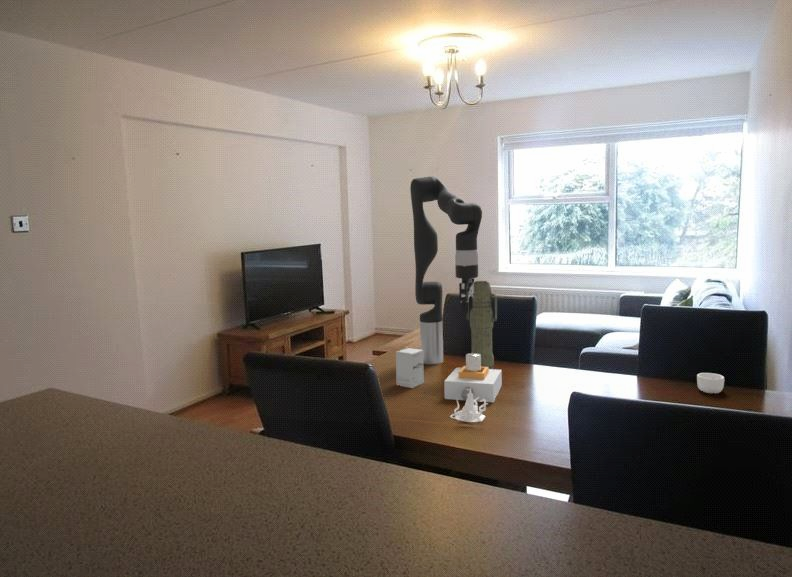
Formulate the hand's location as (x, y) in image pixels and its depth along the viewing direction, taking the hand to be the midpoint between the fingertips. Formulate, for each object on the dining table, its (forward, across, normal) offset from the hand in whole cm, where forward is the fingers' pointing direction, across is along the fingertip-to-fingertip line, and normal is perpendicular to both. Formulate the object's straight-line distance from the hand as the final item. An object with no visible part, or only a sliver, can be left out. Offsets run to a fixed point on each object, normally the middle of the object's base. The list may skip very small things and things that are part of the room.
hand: (467, 311), depth 186 cm
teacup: (+28, -15, +77) cm, 83 cm away
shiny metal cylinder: (+24, +2, +2) cm, 25 cm away
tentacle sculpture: (+27, +27, +6) cm, 39 cm away
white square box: (+28, +2, +2) cm, 28 cm away
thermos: (+28, -24, +1) cm, 37 cm away
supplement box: (+28, -2, -21) cm, 35 cm away
